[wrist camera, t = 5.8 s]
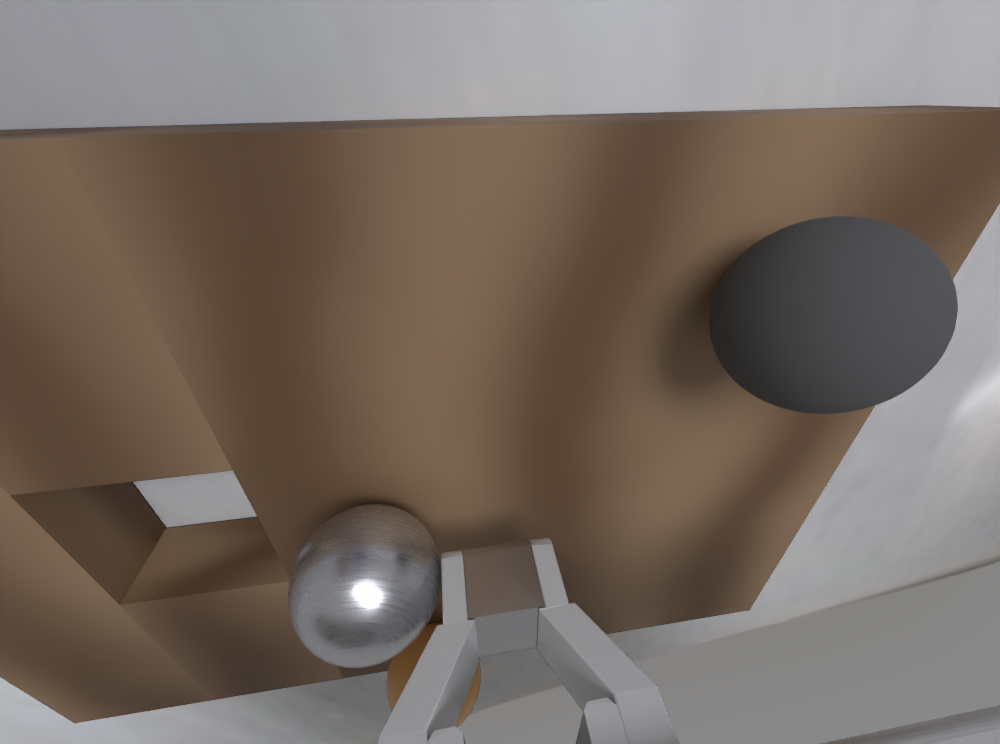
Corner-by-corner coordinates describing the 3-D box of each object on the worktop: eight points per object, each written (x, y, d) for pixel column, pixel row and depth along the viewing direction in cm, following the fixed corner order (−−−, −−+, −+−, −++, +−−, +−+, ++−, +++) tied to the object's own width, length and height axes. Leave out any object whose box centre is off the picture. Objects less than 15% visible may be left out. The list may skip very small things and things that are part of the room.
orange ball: (473, 598, 14) (483, 705, 12) (478, 640, 16) (487, 742, 13) (383, 612, 14) (374, 725, 11) (397, 654, 15) (391, 760, 13)
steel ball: (234, 629, 7) (294, 482, 10) (294, 705, 9) (330, 563, 12) (428, 606, 8) (434, 467, 10) (448, 684, 9) (448, 549, 12)
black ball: (864, 192, 8) (1095, 245, 5) (797, 345, 10) (941, 443, 7) (698, 201, 8) (853, 262, 5) (662, 358, 10) (758, 466, 7)
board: (924, 105, 10) (1057, 109, 8) (715, 556, 20) (749, 610, 18) (-454, 142, 7) (-825, 162, 5) (117, 646, 17) (74, 723, 15)
